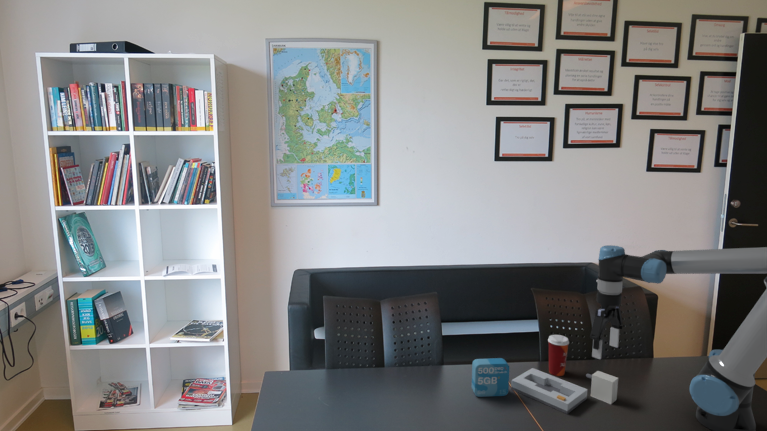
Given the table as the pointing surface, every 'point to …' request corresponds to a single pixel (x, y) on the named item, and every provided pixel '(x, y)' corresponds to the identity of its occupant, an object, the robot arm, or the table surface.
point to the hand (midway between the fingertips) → (605, 351)
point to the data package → (490, 377)
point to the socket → (549, 390)
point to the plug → (603, 386)
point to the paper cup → (557, 354)
